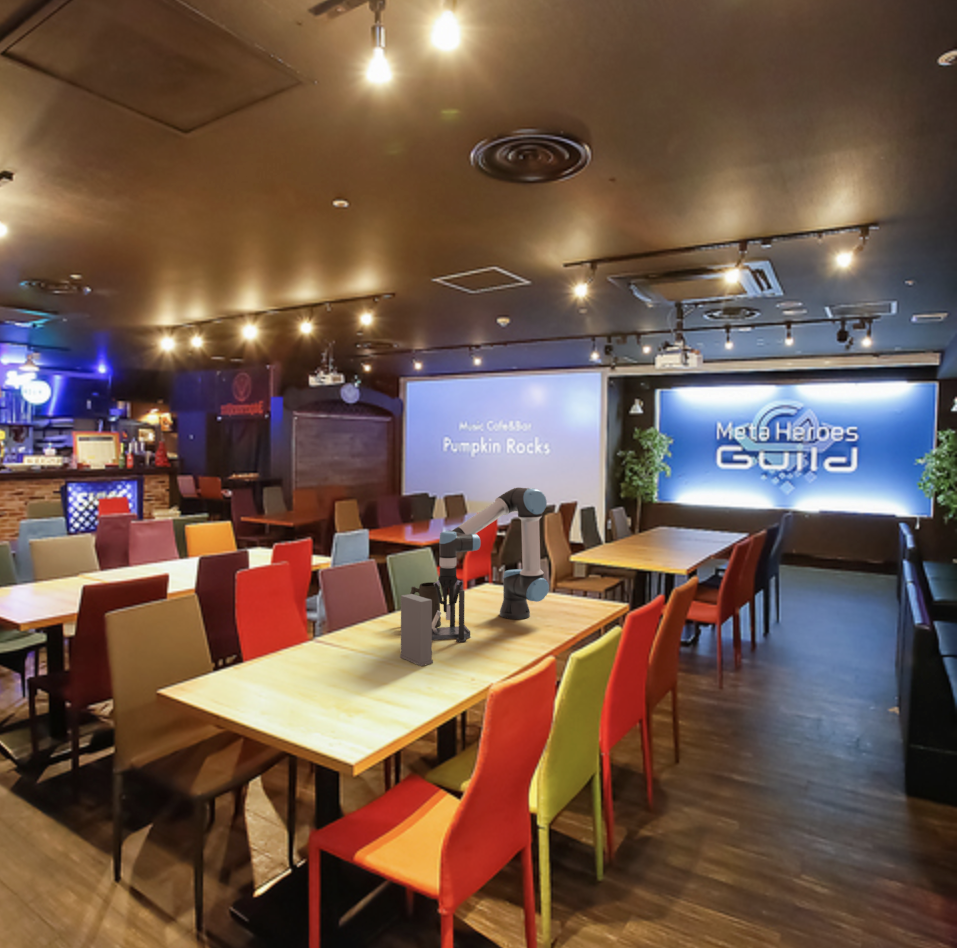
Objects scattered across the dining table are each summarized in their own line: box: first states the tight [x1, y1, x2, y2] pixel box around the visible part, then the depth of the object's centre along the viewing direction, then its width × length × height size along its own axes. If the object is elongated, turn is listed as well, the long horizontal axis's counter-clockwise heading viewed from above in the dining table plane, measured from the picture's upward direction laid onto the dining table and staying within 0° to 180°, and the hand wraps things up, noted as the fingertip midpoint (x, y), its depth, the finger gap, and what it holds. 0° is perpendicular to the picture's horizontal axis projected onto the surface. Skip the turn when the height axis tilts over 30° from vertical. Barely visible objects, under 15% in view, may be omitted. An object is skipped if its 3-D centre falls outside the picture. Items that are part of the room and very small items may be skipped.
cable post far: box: [449, 584, 456, 627], centre depth 297 cm, size 4×4×22 cm
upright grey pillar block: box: [399, 593, 434, 667], centre depth 254 cm, size 14×6×25 cm, turn 41°
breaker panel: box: [432, 624, 471, 641], centre depth 288 cm, size 24×12×3 cm, turn 105°
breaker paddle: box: [432, 610, 442, 630], centre depth 292 cm, size 2×4×8 cm, turn 15°
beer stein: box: [409, 581, 442, 628], centre depth 305 cm, size 15×11×20 cm
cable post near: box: [455, 589, 467, 644], centre depth 280 cm, size 4×4×22 cm
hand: (447, 619), depth 287 cm, fingers closed
